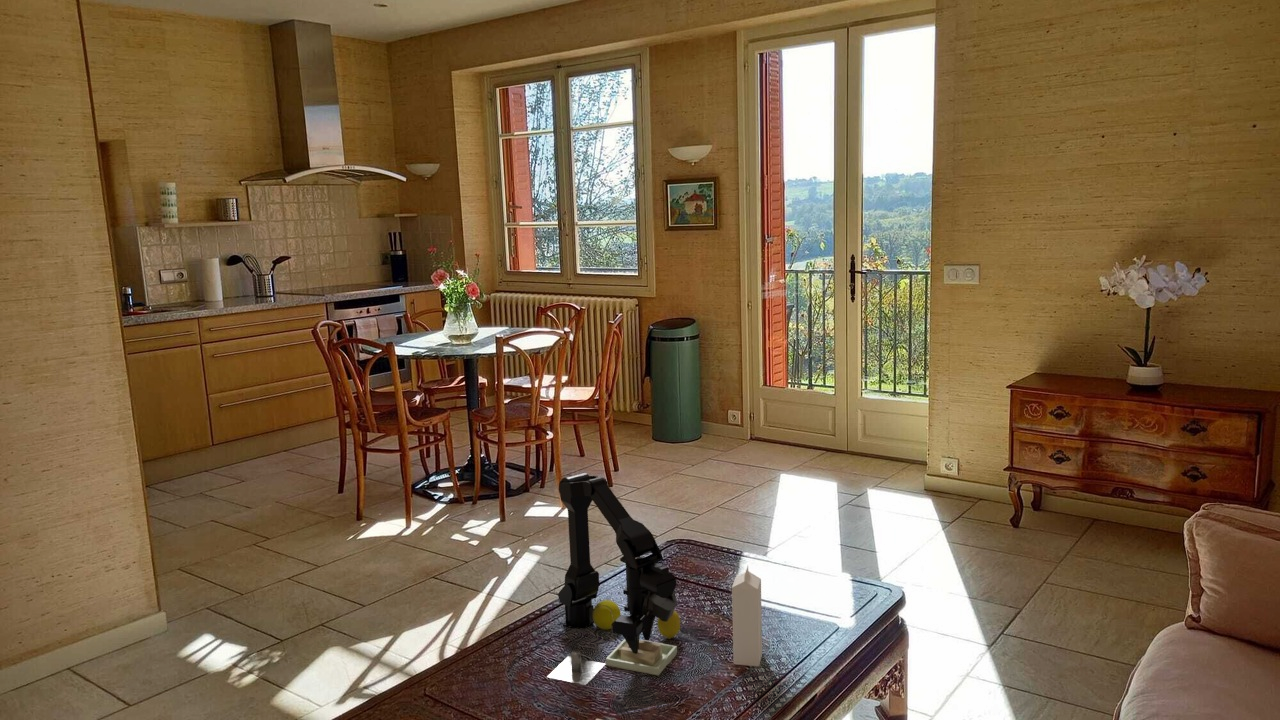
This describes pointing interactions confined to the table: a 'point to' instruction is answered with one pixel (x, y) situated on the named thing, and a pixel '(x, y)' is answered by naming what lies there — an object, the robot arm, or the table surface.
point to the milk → (747, 619)
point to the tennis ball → (605, 614)
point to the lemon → (669, 626)
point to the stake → (576, 669)
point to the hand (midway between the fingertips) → (641, 646)
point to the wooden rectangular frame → (642, 653)
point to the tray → (666, 658)
